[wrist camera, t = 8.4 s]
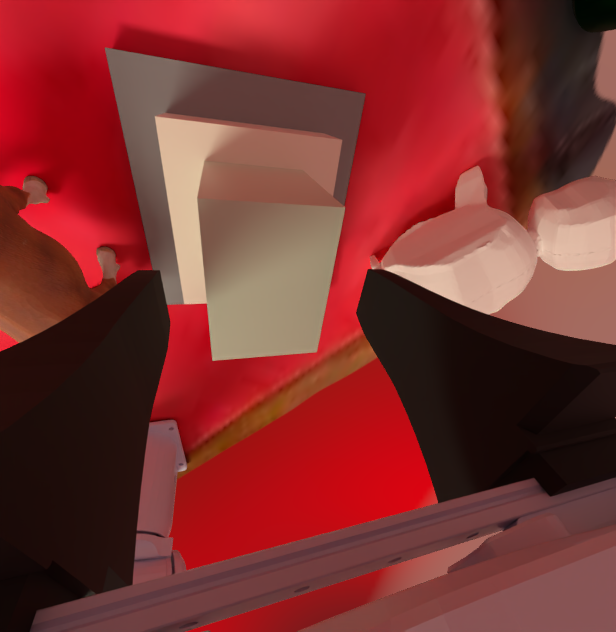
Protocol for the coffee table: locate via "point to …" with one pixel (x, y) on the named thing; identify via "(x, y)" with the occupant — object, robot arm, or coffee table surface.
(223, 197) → the sage brick
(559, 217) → the white lumpy shape
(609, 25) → the soda can
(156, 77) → the tower base
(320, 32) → the coffee table surface
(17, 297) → the bull figurine
